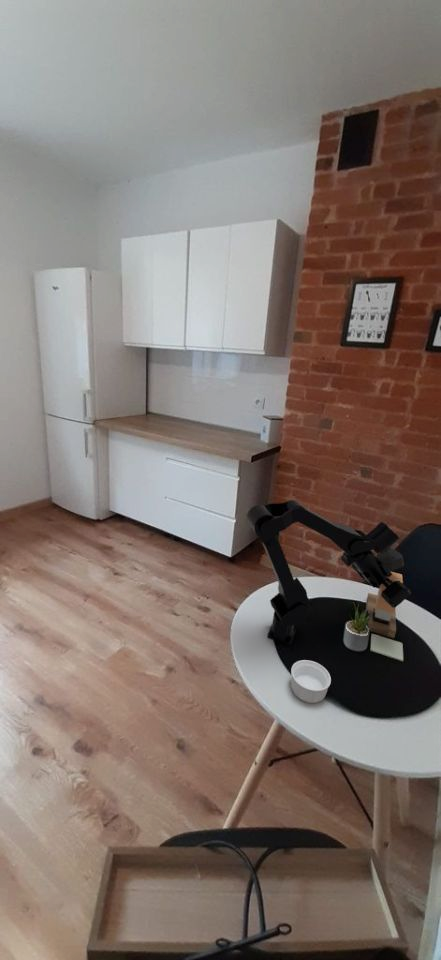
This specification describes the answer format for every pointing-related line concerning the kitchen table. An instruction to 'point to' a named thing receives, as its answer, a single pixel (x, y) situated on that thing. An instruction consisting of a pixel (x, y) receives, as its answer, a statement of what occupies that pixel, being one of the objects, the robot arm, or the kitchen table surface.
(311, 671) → the ramekin
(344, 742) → the kitchen table surface
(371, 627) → the header
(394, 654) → the mat
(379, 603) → the orange rectangular block
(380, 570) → the robot arm
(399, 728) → the kitchen table surface
